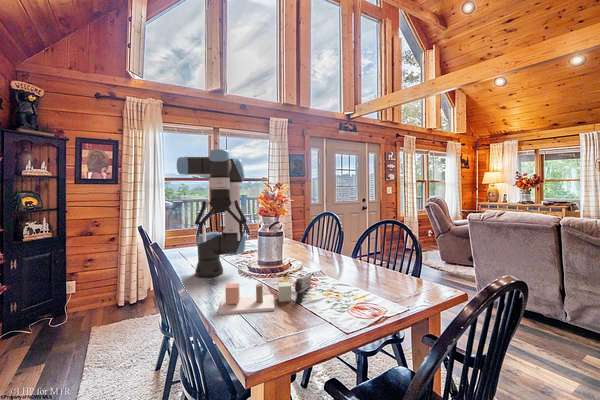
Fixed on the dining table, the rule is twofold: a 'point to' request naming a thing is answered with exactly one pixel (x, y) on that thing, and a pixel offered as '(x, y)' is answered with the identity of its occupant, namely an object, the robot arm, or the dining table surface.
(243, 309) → the stand
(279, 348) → the dining table surface
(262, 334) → the dining table surface
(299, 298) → the grey curved bar
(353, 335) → the dining table surface
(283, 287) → the pale green block
